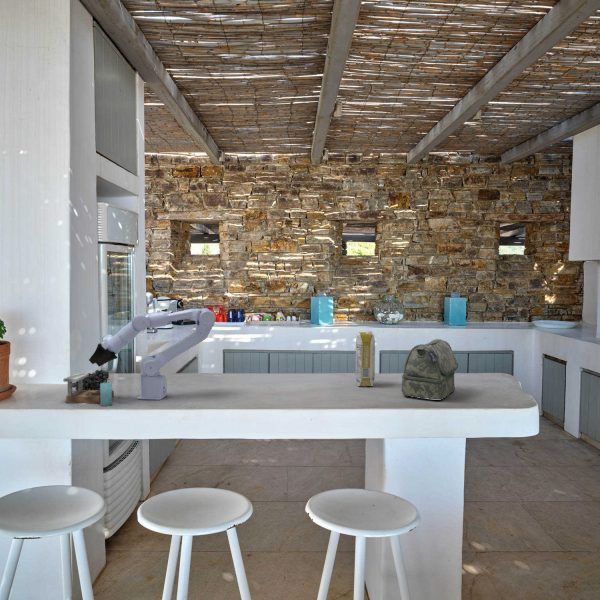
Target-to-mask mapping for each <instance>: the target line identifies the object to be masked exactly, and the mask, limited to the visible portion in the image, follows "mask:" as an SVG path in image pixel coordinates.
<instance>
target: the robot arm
mask: <svg viewBox="0 0 600 600" xmlns="http://www.w3.org/2000/svg"><path fill="white" fill-rule="evenodd" d="M182 320H183V321H184V320H191V321H194V322H196V326H195V331H193V332H192V333H190V334H188V335H187V336H185V337H183V338H182V339H180V340H179V341H177V342H175V343H173V344H172V345H170V346H168V347H167V348H165V349H163V350H162V351H159V352H156V353H154V354H153V355H152V354H151V355H148V356H145V357H143V359H142V361H141V369H142V372H141V373H140V395H139V396H138V397H136V399H137V400H157V401H158V400H159V401H161V400H162V399H164V398H165V397H166V396H168V393H167V389H168V388H167V387H168V386H167V384H168V383H167V381H168V380H167V377H166V375H162V374H161V373H160V371H159V370H161V369H162V368H163V367H164V366H165V365H166V364H167V363H169V362H171V361H172V360H174V359H175V358H177V357H179V356H181V355H182V354H183V353H186V351H189V350H190V349H191V348H193V347H196V346H197V345H199V344H200V343H202V342H203V341H206V339H207V338H208V336H209V335H210V333H211V331H212V328H214V326H215V321H216V315H215V312H214V311H212V310H210V309H209V308H206V307H203V308H190V309H184V310H180V311H176V312H175V311H174V312H169V313H167V312H165V311H163V310H162V311H161V310H159V309H158V310H157V311H155V312H151V313H148V312H144V314H137V315H135V316H133V317H132V320H131V321H130V322H127V324H126V325H124V327H122V328H121V329H120V330H119V331H117V332H116V333H115V334H114V335H113V336H111V338H110V339H109V340H108V339H104V342H103V343H98V344H97V347H96V349H95V350H94V352H93V354H91V356H90V357H89V359H88V361H89V362H90V363H91V364H92V365H94V364H96V365H97V366H98V367H99V368H100V367H101V366H104V365H105V364H107V363H109V362H111V361H113V360H117V359H118V356H117V355H118V354H119V353H120V352H121V350H122V349H123V348H124V347H126V346H127V345H128V344H129V343H130V342H131V341H133V340H134V339H135V338H136V337H137V336H138V334H139V333H141V331H142V332H143V331H146V330H147V329H155V328H159V327H165V326H167V325H168V323H169V322H176V321H182Z"/></svg>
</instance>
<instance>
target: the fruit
mask: <svg viewBox="0 0 600 600" xmlns="http://www.w3.org/2000/svg"><path fill="white" fill-rule="evenodd" d="M94 372H95V373H94ZM94 372H92V373H91V372H87V373H86V374H89V377H86V378H84V379H83V390H96V391H100V383H104V382H108V380H111V379H110V378H109V377H110V373H109V371H105V370H103V369H100V370H98V369H96V370H95V371H94ZM72 388H75V391H78V381H77V382H72Z"/></svg>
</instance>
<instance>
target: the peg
mask: <svg viewBox="0 0 600 600" xmlns="http://www.w3.org/2000/svg"><path fill="white" fill-rule="evenodd" d="M112 386H113V384H112V382H111V381H110V382H108V381H107V382H104V383H100V399H101V404H100V406H101V407H111V406H112V405H113V398H112V391H113V387H112Z"/></svg>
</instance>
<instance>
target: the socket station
mask: <svg viewBox="0 0 600 600" xmlns="http://www.w3.org/2000/svg"><path fill="white" fill-rule="evenodd" d="M86 377H89V374H87V373H74V374H71V375H70V376H67V377H65V378H63V382H66V383H67V395H66V396H65V399H66V400H65V401H66V402H71V403H70V404H93V405H94V404H95V405H96V404H97V405H101V399H100V391H96V390H90V389H89V390H83V379H84V378H86ZM77 381H78V391H77V390H75V391H74V392H73V387H72V383H76V382H77ZM114 396H115V392H114V390H112V399H114ZM66 402H65V403H66Z"/></svg>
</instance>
